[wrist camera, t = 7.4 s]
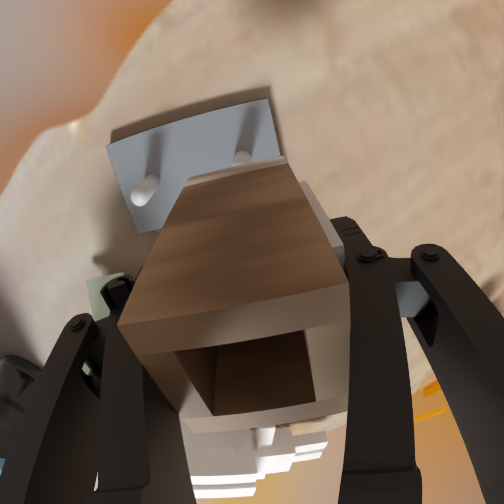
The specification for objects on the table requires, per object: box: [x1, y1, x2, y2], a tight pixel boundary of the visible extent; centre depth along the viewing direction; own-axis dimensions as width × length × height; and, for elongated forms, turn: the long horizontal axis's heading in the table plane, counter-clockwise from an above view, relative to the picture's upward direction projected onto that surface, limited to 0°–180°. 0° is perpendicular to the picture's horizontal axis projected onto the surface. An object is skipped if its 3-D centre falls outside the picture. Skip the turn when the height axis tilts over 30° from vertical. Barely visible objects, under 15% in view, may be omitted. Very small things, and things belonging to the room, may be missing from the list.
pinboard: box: [106, 98, 280, 235], centre depth 28 cm, size 16×10×6 cm, turn 103°
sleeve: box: [117, 156, 351, 433], centre depth 12 cm, size 5×5×11 cm
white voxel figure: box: [179, 416, 328, 498], centre depth 48 cm, size 15×25×28 cm
